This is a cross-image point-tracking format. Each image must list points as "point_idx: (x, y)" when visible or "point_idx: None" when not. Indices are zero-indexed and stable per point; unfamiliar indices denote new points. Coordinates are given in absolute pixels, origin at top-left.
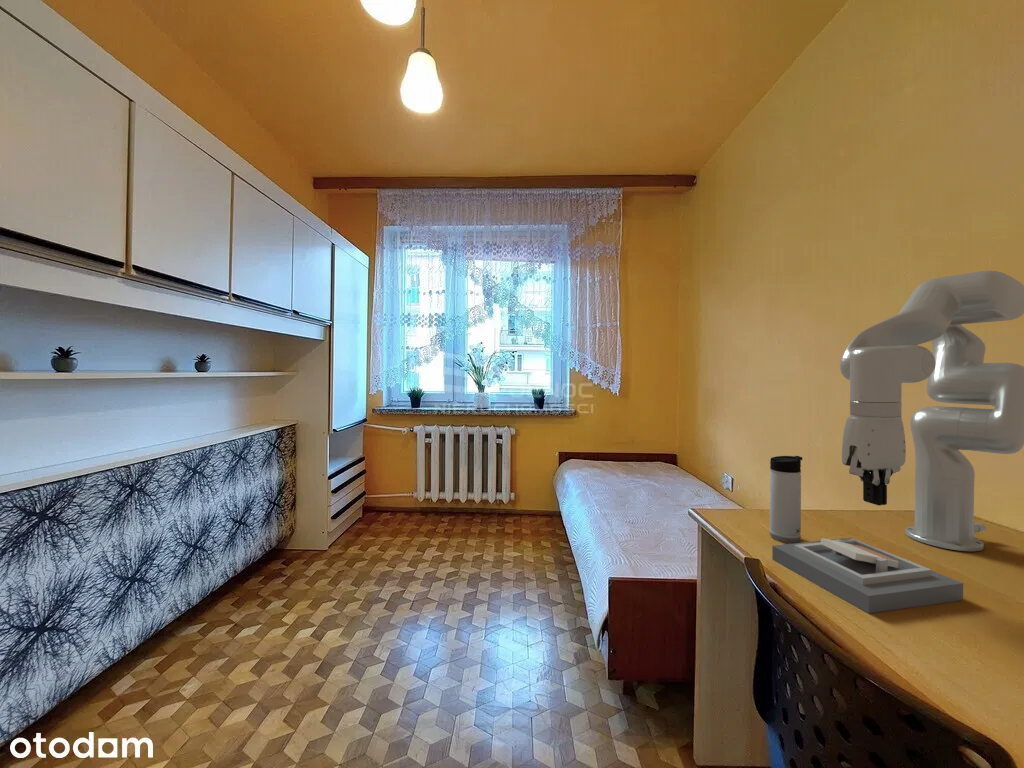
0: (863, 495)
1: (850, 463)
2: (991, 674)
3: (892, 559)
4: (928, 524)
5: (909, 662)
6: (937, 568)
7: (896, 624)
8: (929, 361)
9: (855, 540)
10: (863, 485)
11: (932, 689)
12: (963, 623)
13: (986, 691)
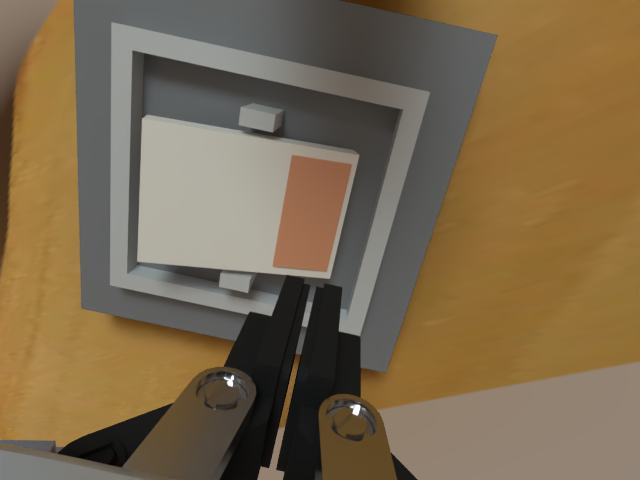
0: (281, 290)
1: (9, 468)
2: None
3: (316, 270)
4: None
5: (32, 381)
6: (565, 248)
7: (125, 327)
8: None
9: (410, 107)
10: (263, 338)
11: (6, 415)
12: None
13: None
